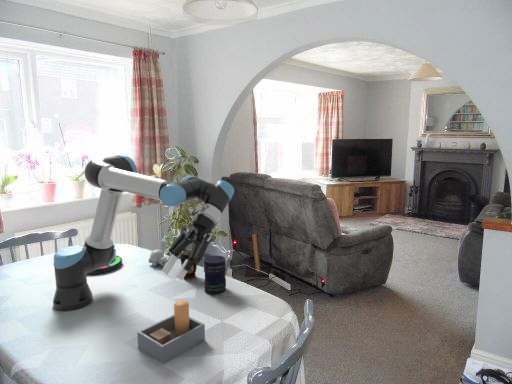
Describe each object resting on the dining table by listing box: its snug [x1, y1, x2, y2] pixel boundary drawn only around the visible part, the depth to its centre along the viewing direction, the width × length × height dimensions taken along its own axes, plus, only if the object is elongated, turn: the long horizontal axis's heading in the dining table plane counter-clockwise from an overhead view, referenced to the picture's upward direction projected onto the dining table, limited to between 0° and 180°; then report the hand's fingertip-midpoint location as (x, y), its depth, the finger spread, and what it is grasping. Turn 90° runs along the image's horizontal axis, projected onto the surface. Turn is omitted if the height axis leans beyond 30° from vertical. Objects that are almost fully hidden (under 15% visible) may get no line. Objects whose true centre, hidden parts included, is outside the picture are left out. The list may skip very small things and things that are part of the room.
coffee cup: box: [179, 250, 198, 281], centre depth 184 cm, size 9×8×13 cm
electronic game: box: [88, 255, 123, 275], centre depth 200 cm, size 23×23×5 cm
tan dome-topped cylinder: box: [173, 300, 190, 338], centre depth 130 cm, size 5×5×12 cm
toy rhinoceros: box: [147, 249, 168, 268], centre depth 200 cm, size 7×12×8 cm, turn 53°
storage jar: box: [203, 254, 227, 296], centre depth 169 cm, size 10×10×15 cm
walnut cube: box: [150, 328, 172, 345], centre depth 124 cm, size 5×5×5 cm
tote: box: [136, 314, 206, 365], centre depth 127 cm, size 18×14×6 cm
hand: (171, 275), depth 125 cm, fingers open, 7 cm apart
